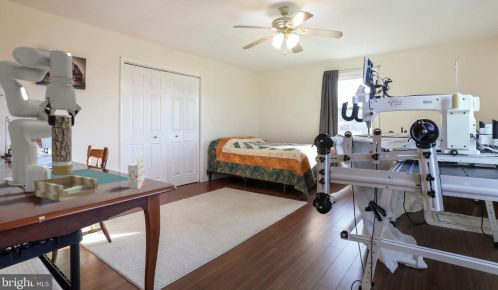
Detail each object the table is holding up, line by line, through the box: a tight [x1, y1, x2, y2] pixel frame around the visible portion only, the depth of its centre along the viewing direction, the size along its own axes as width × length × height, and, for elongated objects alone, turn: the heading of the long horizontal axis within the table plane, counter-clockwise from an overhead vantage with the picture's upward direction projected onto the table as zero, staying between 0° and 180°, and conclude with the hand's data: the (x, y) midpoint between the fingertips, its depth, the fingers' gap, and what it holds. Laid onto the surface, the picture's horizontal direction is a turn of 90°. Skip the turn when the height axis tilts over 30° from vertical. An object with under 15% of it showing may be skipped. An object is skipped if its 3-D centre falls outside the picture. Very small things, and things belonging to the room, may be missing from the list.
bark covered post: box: [51, 114, 73, 177], centre depth 109 cm, size 7×7×25 cm
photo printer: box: [24, 163, 52, 193], centre depth 114 cm, size 10×4×12 cm, turn 81°
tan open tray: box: [33, 174, 99, 202], centre depth 109 cm, size 16×15×7 cm
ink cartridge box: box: [127, 157, 146, 190], centre depth 128 cm, size 9×5×15 cm, turn 0°
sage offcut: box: [63, 185, 86, 195], centre depth 108 cm, size 3×10×2 cm, turn 175°
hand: (61, 125), depth 109 cm, fingers closed on bark covered post, 6 cm apart
